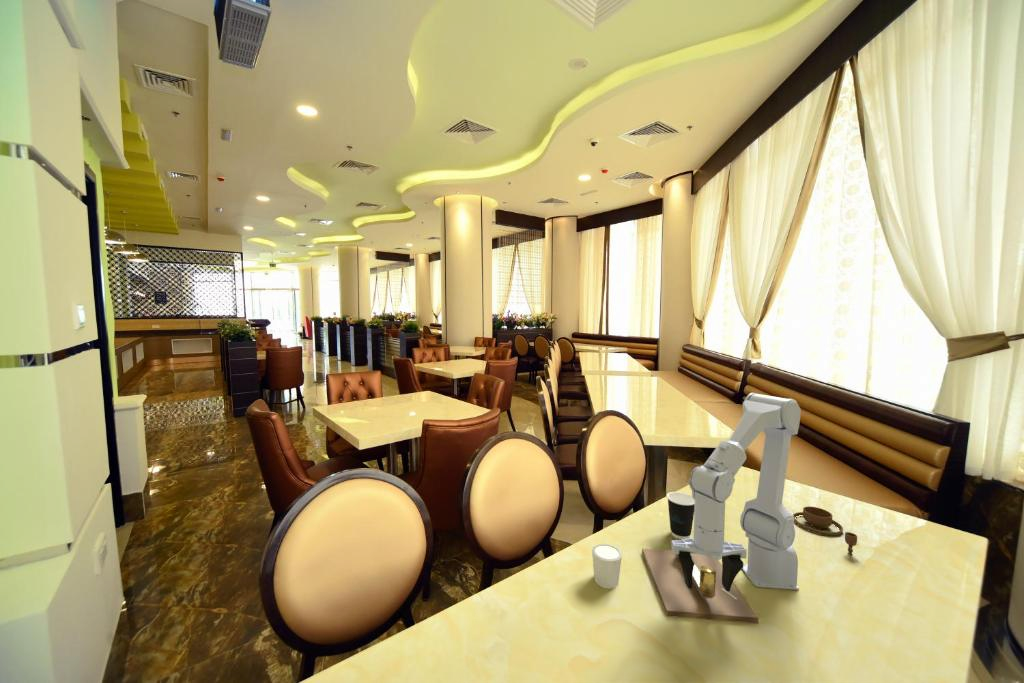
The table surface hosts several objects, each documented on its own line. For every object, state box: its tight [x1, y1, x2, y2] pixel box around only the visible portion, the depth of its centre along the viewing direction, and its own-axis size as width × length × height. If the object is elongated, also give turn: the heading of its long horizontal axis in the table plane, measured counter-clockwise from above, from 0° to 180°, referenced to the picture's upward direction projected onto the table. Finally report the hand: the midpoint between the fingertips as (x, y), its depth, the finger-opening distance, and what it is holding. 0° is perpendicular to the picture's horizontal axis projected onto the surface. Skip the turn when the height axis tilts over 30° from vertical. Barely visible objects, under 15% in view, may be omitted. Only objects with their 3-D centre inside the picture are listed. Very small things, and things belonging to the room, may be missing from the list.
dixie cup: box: [666, 491, 695, 540], centre depth 110 cm, size 8×8×11 cm
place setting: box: [792, 505, 858, 556], centre depth 112 cm, size 18×20×6 cm
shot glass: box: [591, 543, 623, 589], centre depth 91 cm, size 7×7×7 cm
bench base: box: [641, 548, 760, 624], centre depth 90 cm, size 18×22×1 cm
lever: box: [675, 553, 716, 598], centre depth 89 cm, size 4×18×7 cm, turn 174°
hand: (707, 586), depth 82 cm, fingers open, 7 cm apart
